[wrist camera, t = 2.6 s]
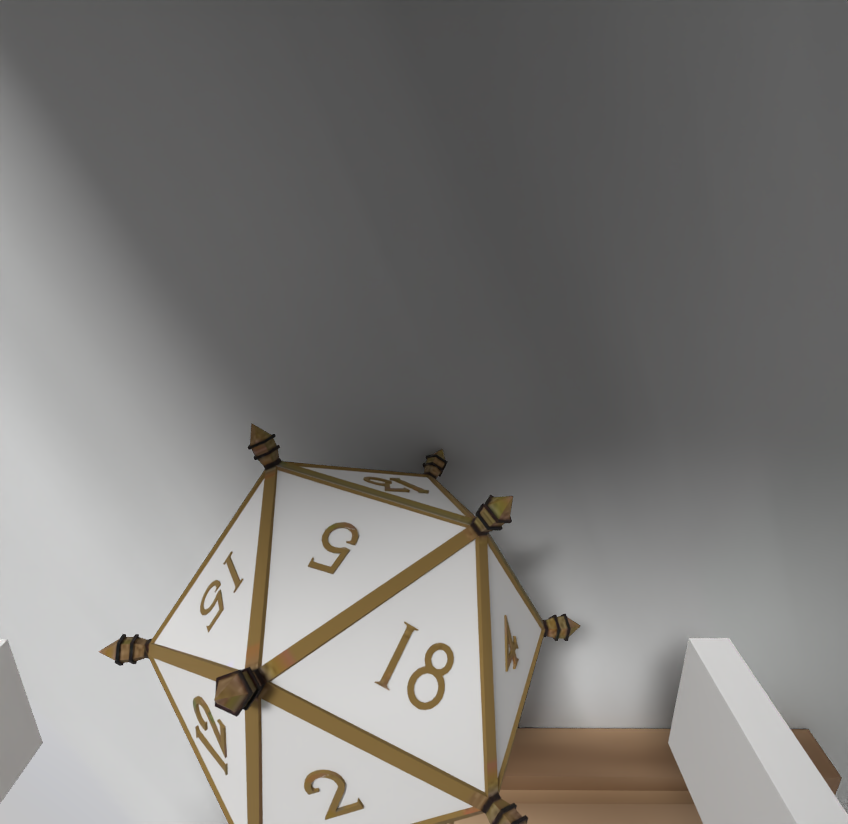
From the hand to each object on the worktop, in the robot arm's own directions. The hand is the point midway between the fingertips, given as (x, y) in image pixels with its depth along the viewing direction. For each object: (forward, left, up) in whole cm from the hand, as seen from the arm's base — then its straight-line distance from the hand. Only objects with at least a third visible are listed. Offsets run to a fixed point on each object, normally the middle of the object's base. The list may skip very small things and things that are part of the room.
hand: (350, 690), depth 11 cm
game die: (0, 0, -5) cm, 5 cm away
